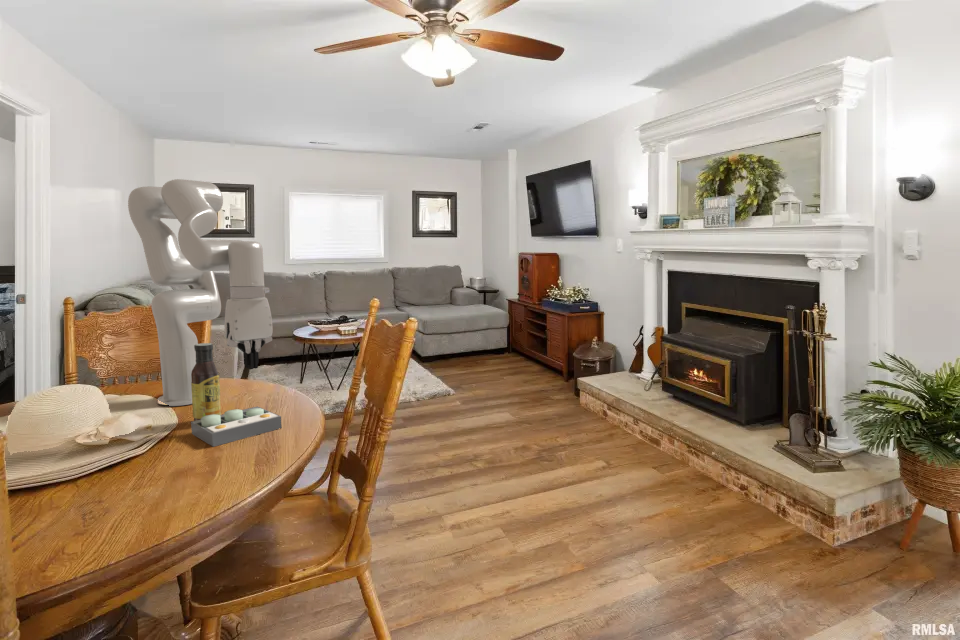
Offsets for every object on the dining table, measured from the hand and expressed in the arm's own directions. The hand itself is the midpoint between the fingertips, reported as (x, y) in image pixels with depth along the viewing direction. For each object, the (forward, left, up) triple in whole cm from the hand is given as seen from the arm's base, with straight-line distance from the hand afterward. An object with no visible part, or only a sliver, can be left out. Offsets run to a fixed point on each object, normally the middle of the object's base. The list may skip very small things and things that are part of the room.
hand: (251, 367), depth 129 cm
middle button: (0, -5, -13) cm, 14 cm away
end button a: (0, -10, -13) cm, 17 cm away
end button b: (0, 0, -14) cm, 14 cm away
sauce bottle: (-10, -7, -15) cm, 19 cm away
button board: (+2, -5, -14) cm, 15 cm away
